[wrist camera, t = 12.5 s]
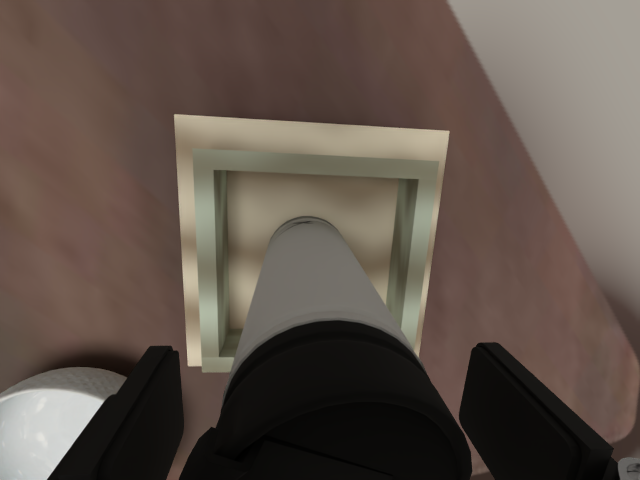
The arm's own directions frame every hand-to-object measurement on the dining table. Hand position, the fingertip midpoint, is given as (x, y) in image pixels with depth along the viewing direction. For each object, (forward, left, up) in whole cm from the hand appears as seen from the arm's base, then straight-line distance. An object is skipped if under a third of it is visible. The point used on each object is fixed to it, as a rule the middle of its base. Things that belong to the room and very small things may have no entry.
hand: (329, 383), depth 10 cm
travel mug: (0, 0, -16) cm, 16 cm away
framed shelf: (+1, 0, -22) cm, 22 cm away
